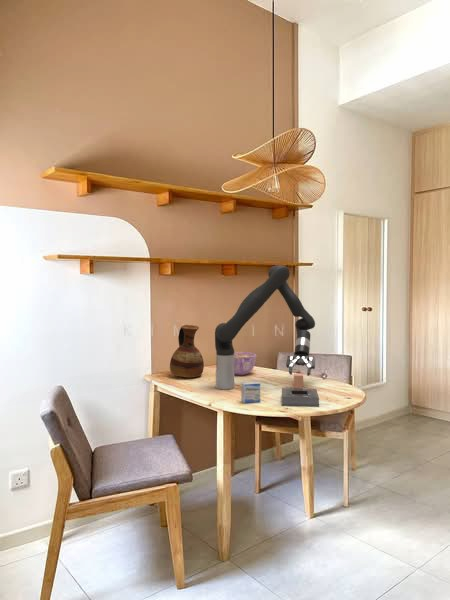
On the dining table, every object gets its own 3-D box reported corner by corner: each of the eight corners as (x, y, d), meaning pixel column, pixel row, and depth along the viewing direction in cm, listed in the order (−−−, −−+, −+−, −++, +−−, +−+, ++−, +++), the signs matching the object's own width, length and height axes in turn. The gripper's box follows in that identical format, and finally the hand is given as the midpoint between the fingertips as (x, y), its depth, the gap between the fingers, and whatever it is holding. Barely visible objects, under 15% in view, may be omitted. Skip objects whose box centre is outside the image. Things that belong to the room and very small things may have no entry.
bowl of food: (251, 378, 255) (251, 357, 254) (218, 376, 261) (218, 356, 261) (260, 371, 274) (260, 352, 273) (228, 369, 280) (228, 351, 280)
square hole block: (281, 405, 198) (281, 396, 198) (281, 396, 214) (281, 388, 213) (318, 406, 196) (318, 397, 196) (316, 397, 212) (316, 388, 211)
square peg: (293, 393, 219) (293, 375, 218) (293, 391, 223) (293, 373, 223) (303, 394, 218) (303, 375, 218) (302, 391, 222) (302, 373, 222)
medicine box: (244, 403, 201) (244, 384, 201) (241, 401, 206) (241, 382, 205) (260, 402, 203) (260, 383, 203) (257, 399, 208) (257, 381, 207)
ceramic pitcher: (181, 381, 247) (180, 327, 246) (163, 375, 264) (163, 324, 263) (210, 377, 259) (210, 325, 258) (192, 371, 275) (191, 322, 274)
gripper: (287, 343, 233) (284, 369, 223) (315, 344, 229) (313, 370, 218) (289, 352, 238) (286, 377, 228) (316, 353, 234) (314, 379, 224)
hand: (299, 374), depth 223 cm, fingers open, 8 cm apart
